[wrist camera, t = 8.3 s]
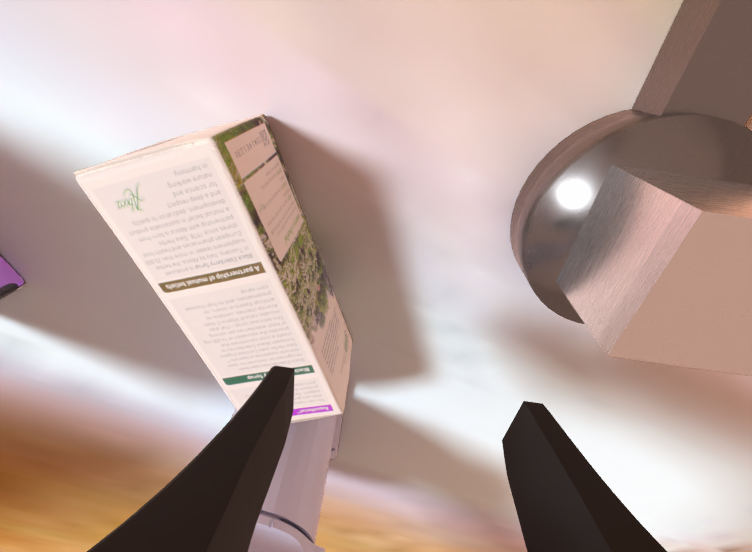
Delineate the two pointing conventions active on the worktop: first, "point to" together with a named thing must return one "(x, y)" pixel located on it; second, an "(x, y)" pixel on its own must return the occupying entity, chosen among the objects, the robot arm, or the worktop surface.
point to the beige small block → (666, 270)
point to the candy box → (9, 279)
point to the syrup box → (231, 259)
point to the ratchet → (646, 138)
